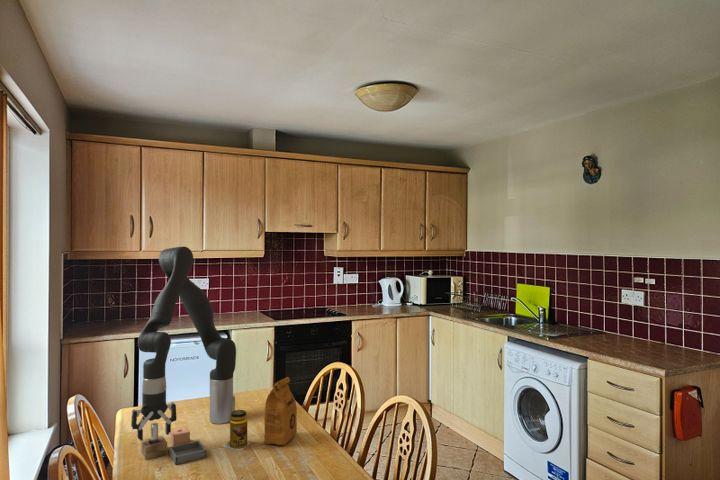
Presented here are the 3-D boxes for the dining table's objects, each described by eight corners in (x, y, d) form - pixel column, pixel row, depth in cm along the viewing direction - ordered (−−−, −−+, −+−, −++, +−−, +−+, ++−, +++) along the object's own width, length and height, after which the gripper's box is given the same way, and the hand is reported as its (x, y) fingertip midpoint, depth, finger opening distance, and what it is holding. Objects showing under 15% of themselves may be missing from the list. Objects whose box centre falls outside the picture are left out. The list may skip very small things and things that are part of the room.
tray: (198, 447, 172) (198, 440, 172) (206, 457, 164) (206, 449, 164) (169, 454, 166) (169, 447, 166) (175, 464, 159) (175, 457, 159)
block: (185, 440, 178) (185, 426, 178) (189, 445, 173) (189, 431, 173) (169, 443, 175) (170, 429, 175) (173, 449, 170) (173, 435, 170)
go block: (162, 446, 172) (162, 435, 172) (167, 454, 166) (167, 442, 166) (141, 451, 168) (141, 440, 168) (145, 459, 162) (145, 447, 162)
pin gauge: (157, 450, 169) (157, 422, 169) (158, 453, 167) (158, 424, 167) (150, 452, 168) (150, 423, 167) (151, 454, 166) (151, 425, 166)
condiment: (241, 450, 170) (241, 416, 169) (220, 447, 172) (220, 413, 172) (252, 442, 176) (252, 409, 176) (232, 439, 179) (232, 406, 179)
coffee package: (301, 435, 183) (301, 377, 182) (284, 449, 171) (284, 386, 171) (278, 431, 186) (278, 374, 186) (260, 444, 175) (260, 383, 174)
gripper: (173, 383, 174) (173, 428, 174) (129, 390, 166) (129, 437, 166) (178, 389, 168) (178, 436, 168) (133, 396, 160) (133, 445, 160)
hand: (154, 436), depth 167 cm, fingers open, 8 cm apart
